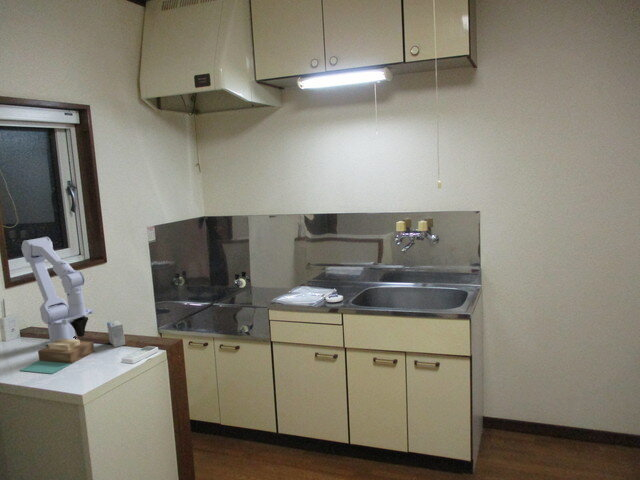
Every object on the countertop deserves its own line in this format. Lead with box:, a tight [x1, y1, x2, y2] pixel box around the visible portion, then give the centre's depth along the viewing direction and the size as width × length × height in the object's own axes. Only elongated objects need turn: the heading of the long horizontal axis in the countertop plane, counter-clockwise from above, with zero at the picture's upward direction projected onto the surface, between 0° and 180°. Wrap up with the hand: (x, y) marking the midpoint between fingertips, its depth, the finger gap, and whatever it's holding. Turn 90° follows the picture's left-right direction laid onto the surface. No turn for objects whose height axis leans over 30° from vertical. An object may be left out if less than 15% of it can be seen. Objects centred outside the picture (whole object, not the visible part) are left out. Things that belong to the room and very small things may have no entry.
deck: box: [37, 340, 95, 365], centre depth 200 cm, size 12×15×4 cm
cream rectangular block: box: [48, 338, 81, 351], centre depth 199 cm, size 6×9×2 cm, turn 72°
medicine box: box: [106, 319, 126, 348], centre depth 210 cm, size 8×4×9 cm, turn 34°
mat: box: [19, 360, 72, 375], centre depth 191 cm, size 9×15×1 cm, turn 72°
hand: (81, 336), depth 207 cm, fingers closed
